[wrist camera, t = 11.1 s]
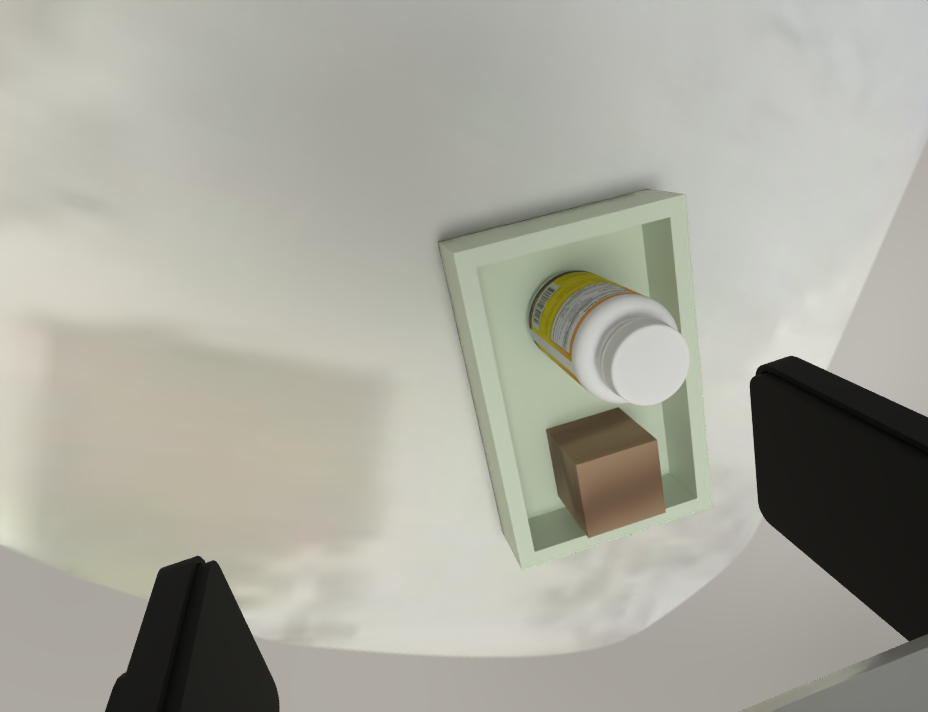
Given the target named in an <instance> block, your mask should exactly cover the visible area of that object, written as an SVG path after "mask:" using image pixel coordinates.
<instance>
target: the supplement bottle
mask: <svg viewBox="0 0 928 712" xmlns="http://www.w3.org/2000/svg"><path fill="white" fill-rule="evenodd" d="M528 326H529V331H530V334H531V337H532V339H533V341H534V342H535V344H536V345H537V347H538V348H539V349H540V350H541V351H542V352H543V353H544V354H545V355H547V356H548V357H549V358H550V359H551V360H552V361H554V362H555V363H556V364H557V365H558V366H559V367H560V368H562V369H563V370H564V371H565V372H566V373H567V374H568V375H570V376H571V377H572V378H573V379H574V380H575V381H577V382H578V383H579V384H580V385H581V386H582V387H583V388H585V389H586V390H587V391H588V392H589V393H591V394H592V395H594V396H595V397H597V398H599V399H601V400H603V401H606V402H610V403H617V404H622V403H632V404H635V405H641V406H648V405H654V404H657V403H660V402H662V401H664V400H666V399H668V398H669V397H670V396H672V395H673V394H674V393H675V392H676V391H677V390H678V389H679V388H680V386H681V385H682V384H683V382H684V380H685V378H686V376H687V374H688V371H689V366H690V350H689V347H688V344H687V342H686V340H685V338H684V337H683V336H682V335H681V333H679V332H678V329H677V326H676V323H675V321H674V319H673V317H672V315H671V314H670V313H669V312H668V310H667V309H666V308H665V307H664V306H662V305H661V304H660V303H658V302H657V301H655V300H653V299H651V298H649V297H647V296H644V295H642V294H640V293H637V292H635V291H633V290H631V289H628V288H626V287H624V286H621V285H619V284H617V283H614V282H612V281H610V280H607V279H605V278H603V277H600V276H598V275H596V274H594V273H591V272H587V271H581V270H571V271H566V272H562V273H559V274H557V275H555V276H553V277H552V278H550V279H549V280H547V281H546V282H545V283H544V284H543V285H542V286H541V287H540V288H539V289H538V291H537V292H536V294H535V295H534V297H533V299H532V302H531V304H530V308H529V313H528Z"/></svg>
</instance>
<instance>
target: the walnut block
mask: <svg viewBox="0 0 928 712" xmlns="http://www.w3.org/2000/svg"><path fill="white" fill-rule="evenodd" d="M546 433H547V439H548V444H549V449H550V455H551V460H552V466H553V471H554V477H555V482H556V487H557V493H558V496H559V498H560V499H561V501H562V502H563V503H564V505H565V506H566V508H567V509H568V510H569V512H570V513H571V515H572V516H573V517H574V519H575V520H576V522H577V523H578V524H579V526H580V527H581V529H582V530H583V531H584V533H585V534H586V535H587V537H588V538H591V537H594V536H597V535H600V534H603V533H606V532H609V531H612V530H615V529H618V528H621V527H624V526H627V525H630V524H633V523H636V522H639V521H642V520H645V519H648V518H651V517H654V516H657V515H660V514H663V513H666V510H665V502H664V493H663V485H662V476H661V468H660V459H659V451H658V442H657V439H656V438H654V437H653V436H652V435H651V434H650V433H649V432H647V431H646V430H645V429H644V428H643V427H641V426H640V425H639V424H638V423H637V422H635V421H634V420H633V419H632V418H631V417H629V416H628V415H627V414H626V413H625V412H623V411H622V410H621V409H620V408H619V407H618V408H614V409H611V410H608V411H605V412H601V413H598V414H595V415H591V416H588V417H585V418H581V419H578V420H575V421H572V422H568V423H565V424H562V425H558V426H555V427H552V428H548V429H546Z"/></svg>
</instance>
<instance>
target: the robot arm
mask: <svg viewBox="0 0 928 712" xmlns="http://www.w3.org/2000/svg"><path fill="white" fill-rule="evenodd" d="M750 397H751V411H752V424H753V438H754V452H755V465H756V479H757V493H758V504H759V508H760V510H761V513H762V515H763V516H764V518H765V519H766V521H767V522H768V523H769V524H770V525H772V526H773V527H774V528H775V529H776V530H778V531H779V532H780V533H781V534H782V535H783V536H785V537H786V538H787V539H788V540H789V541H791V542H792V543H793V544H794V545H795V546H796V547H798V548H799V549H800V550H801V551H803V552H804V553H805V554H806V555H807V556H808V557H810V558H811V559H812V560H813V561H814V562H815V563H817V564H818V565H819V566H820V567H821V568H823V569H824V570H825V571H826V572H827V573H829V574H830V575H831V576H832V577H833V578H835V579H836V580H837V581H838V582H839V583H841V584H842V585H843V586H844V587H845V588H846V589H848V590H849V591H850V592H851V593H852V594H854V595H855V596H856V597H857V598H858V599H859V600H861V601H862V602H863V603H864V604H865V605H867V606H868V607H869V608H870V609H871V610H873V611H874V612H875V613H876V614H877V615H878V616H880V617H881V618H882V619H883V620H885V621H886V622H887V623H888V624H889V625H890V626H892V627H893V628H894V629H895V630H896V631H897V632H899V633H900V634H901V635H902V636H903V637H905V638H906V639H907V640H908V641H909V642H907V643H905V644H902V645H900V646H897V647H895V648H892V649H890V650H888V651H885V652H883V653H880V654H878V655H875V656H873V657H871V658H868V659H866V660H863V661H861V662H858V663H856V664H853V665H851V666H848V667H846V668H844V669H841V670H839V671H837V672H834V673H831V674H829V675H827V676H824V677H822V678H819V679H817V680H814V681H812V682H809V683H807V684H805V685H802V686H800V687H797V688H795V689H793V690H790V691H788V692H785V693H783V694H781V695H778V696H776V697H773V698H771V699H768V700H766V701H764V702H761V703H759V704H757V705H754V706H752V707H749V708H747V709H744V710H742V711H740V712H928V417H926V416H924V415H922V414H919V413H917V412H915V411H913V410H910V409H908V408H906V407H904V406H902V405H900V404H897V403H895V402H893V401H891V400H889V399H887V398H885V397H882V396H880V395H878V394H876V393H874V392H872V391H869V390H867V389H865V388H863V387H861V386H859V385H856V384H854V383H852V382H850V381H848V380H845V379H843V378H841V377H839V376H837V375H835V374H832V373H830V372H828V371H826V370H824V369H822V368H819V367H817V366H815V365H813V364H811V363H809V362H806V361H804V360H802V359H800V358H798V357H794V356H789V357H785V358H782V359H779V360H776V361H773V362H770V363H767V364H764V365H761V366H760V367H759V368H758V369H757V371H756V376H755V377H753V378H752V379H751V381H750ZM105 712H279V697H278V692H277V688H276V685H275V682H274V680H273V678H272V676H271V674H270V671H269V670H268V667H267V665H266V663H265V661H264V659H263V657H262V655H261V653H260V650H259V648H258V646H257V644H256V642H255V640H254V638H253V636H252V634H251V631H250V629H249V627H248V625H247V623H246V621H245V619H244V617H243V615H242V612H241V610H240V608H239V606H238V604H237V602H236V600H235V598H234V596H233V593H232V591H231V589H230V587H229V585H228V583H227V581H226V579H225V577H224V574H223V572H222V570H221V568H220V566H219V565H218V563H217V562H216V561H214V560H213V561H210V562H207V563H205V561H204V560H203V559H202V558H201V557H200V556H196V557H193V558H190V559H187V560H184V561H181V562H178V563H175V564H172V565H169V566H166V567H163V568H161V569H160V570H159V572H158V574H157V578H156V581H155V584H154V587H153V590H152V593H151V596H150V599H149V603H148V606H147V609H146V612H145V615H144V618H143V622H142V625H141V628H140V631H139V634H138V637H137V640H136V643H135V647H134V650H133V653H132V656H131V659H130V662H129V665H128V669H127V672H126V673H123V674H122V675H121V676H120V677H119V678H118V679H117V681H116V683H115V685H114V687H113V689H112V692H111V695H110V698H109V701H108V704H107V707H106V710H105Z"/></svg>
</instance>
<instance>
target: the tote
mask: <svg viewBox="0 0 928 712" xmlns="http://www.w3.org/2000/svg"><path fill="white" fill-rule="evenodd" d="M438 245H439V250H440V254H441V258H442V263H443V267H444V272H445V276H446V281H447V285H448V290H449V294H450V299H451V303H452V308H453V312H454V316H455V321H456V325H457V330H458V334H459V339H460V343H461V348H462V352H463V357H464V361H465V366H466V370H467V374H468V379H469V383H470V388H471V392H472V397H473V401H474V406H475V410H476V415H477V419H478V424H479V428H480V433H481V437H482V441H483V446H484V450H485V455H486V459H487V464H488V468H489V473H490V477H491V482H492V486H493V491H494V495H495V499H496V504H497V508H498V513H499V517H500V522H501V526H502V531H503V534H504V536H505V538H506V540H507V542H508V544H509V546H510V548H511V550H512V552H513V554H514V556H515V558H516V559H517V561H518V563H519V565H520V567H521V569H522V570H525V569H528V568H531V567H534V566H537V565H540V564H543V563H546V562H549V561H552V560H555V559H558V558H561V557H564V556H567V555H570V554H573V553H576V552H579V551H582V550H585V549H588V548H591V547H594V546H597V545H600V544H603V543H606V542H609V541H612V540H615V539H618V538H621V537H624V536H627V535H630V534H633V533H636V532H639V531H642V530H645V529H648V528H651V527H654V526H657V525H660V524H663V523H666V522H669V521H672V520H675V519H678V518H681V517H684V516H687V515H690V514H693V513H696V512H699V511H702V510H705V509H708V508H710V507H713V504H712V492H711V481H710V470H709V458H708V447H707V435H706V424H705V412H704V401H703V390H702V378H701V367H700V355H699V344H698V332H697V321H696V310H695V298H694V287H693V275H692V264H691V252H690V241H689V230H688V218H687V207H686V195H685V194H681V193H673V192H665V191H657V190H649V189H647V190H643V191H639V192H635V193H631V194H627V195H623V196H619V197H615V198H611V199H607V200H603V201H599V202H595V203H591V204H587V205H583V206H579V207H575V208H571V209H567V210H563V211H559V212H555V213H552V214H548V215H544V216H540V217H536V218H532V219H528V220H524V221H520V222H516V223H512V224H508V225H504V226H500V227H496V228H492V229H488V230H484V231H480V232H476V233H472V234H468V235H464V236H460V237H456V238H452V239H448V240H444V241H441V242H438ZM571 270H581V271H587V272H591V273H594V274H596V275H598V276H600V277H603V278H605V279H607V280H610V281H612V282H614V283H617V284H619V285H621V286H624V287H626V288H628V289H631V290H633V291H635V292H637V293H640V294H642V295H644V296H647V297H649V298H651V299H653V300H655V301H657V302H658V303H660V304H661V305H662V306H664V307H665V308H666V309H667V310H668V312H669V313H670V314H671V315H672V317H673V319H674V321H675V323H676V326H677V329H678V332H679V333H681V335H682V336H683V337H684V338H685V340H686V342H687V344H688V347H689V350H690V366H689V371H688V374H687V376H686V378H685V380H684V382H683V384H682V385H681V386H680V388H679V389H678V390H677V391H676V392H675V393H674V394H673V395H672V396H670V397H669V398H668V399H666V400H664V401H662V402H660V403H657V404H654V405H648V406H641V405H635V404H632V403H622V404H617V403H610V402H606V401H603V400H601V399H599V398H597V397H595V396H594V395H592V394H591V393H589V392H588V391H587V390H586V389H585V388H583V387H582V386H581V385H580V384H579V383H578V382H577V381H575V380H574V379H573V378H572V377H571V376H570V375H568V374H567V373H566V372H565V371H564V370H563V369H562V368H560V367H559V366H558V365H557V364H556V363H555V362H554V361H552V360H551V359H550V358H549V357H548V356H547V355H545V354H544V353H543V352H542V351H541V350H540V349H539V348H538V347H537V345H536V344H535V342H534V341H533V339H532V337H531V334H530V331H529V326H528V313H529V308H530V304H531V302H532V299H533V297H534V295H535V294H536V292H537V291H538V289H539V288H540V287H541V286H542V285H543V284H544V283H545V282H546V281H547V280H549V279H550V278H552V277H553V276H555V275H557V274H559V273H562V272H566V271H571ZM618 407H619V408H620V409H621V410H622V411H623V412H625V413H626V414H627V415H628V416H629V417H631V418H632V419H633V420H634V421H635V422H637V423H638V424H639V425H640V426H641V427H643V428H644V429H645V430H646V431H647V432H649V433H650V434H651V435H652V436H653V437H654V438H656V439H657V442H658V451H659V459H660V468H661V476H662V485H663V493H664V502H665V510H666V513H663V514H660V515H657V516H654V517H651V518H648V519H645V520H642V521H639V522H636V523H633V524H630V525H627V526H624V527H621V528H618V529H615V530H612V531H609V532H606V533H603V534H600V535H597V536H594V537H591V538H588V537H587V535H586V534H585V533H584V531H583V530H582V529H581V527H580V526H579V524H578V523H577V522H576V520H575V519H574V517H573V516H572V515H571V513H570V512H569V510H568V509H567V508H566V506H565V505H564V503H563V502H562V501H561V499H560V498H559V496H558V493H557V487H556V482H555V477H554V471H553V466H552V460H551V455H550V449H549V444H548V439H547V433H546V429H548V428H552V427H555V426H558V425H562V424H565V423H568V422H572V421H575V420H578V419H581V418H585V417H588V416H591V415H595V414H598V413H601V412H605V411H608V410H611V409H614V408H618Z"/></svg>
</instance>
